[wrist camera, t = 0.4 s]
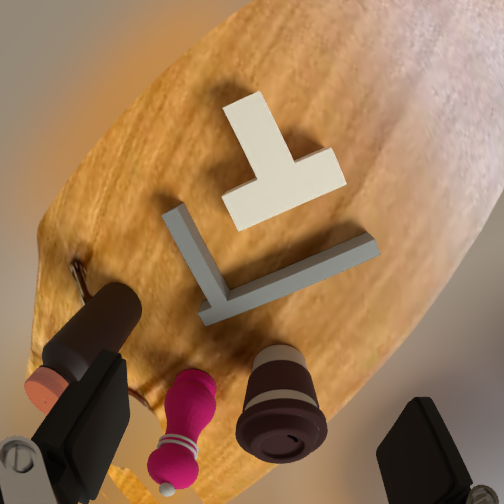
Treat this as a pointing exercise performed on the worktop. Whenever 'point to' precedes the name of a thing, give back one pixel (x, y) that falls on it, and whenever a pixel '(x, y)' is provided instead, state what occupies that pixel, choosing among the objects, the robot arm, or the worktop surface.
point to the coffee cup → (280, 408)
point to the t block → (274, 167)
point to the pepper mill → (182, 431)
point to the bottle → (83, 342)
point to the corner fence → (265, 288)
